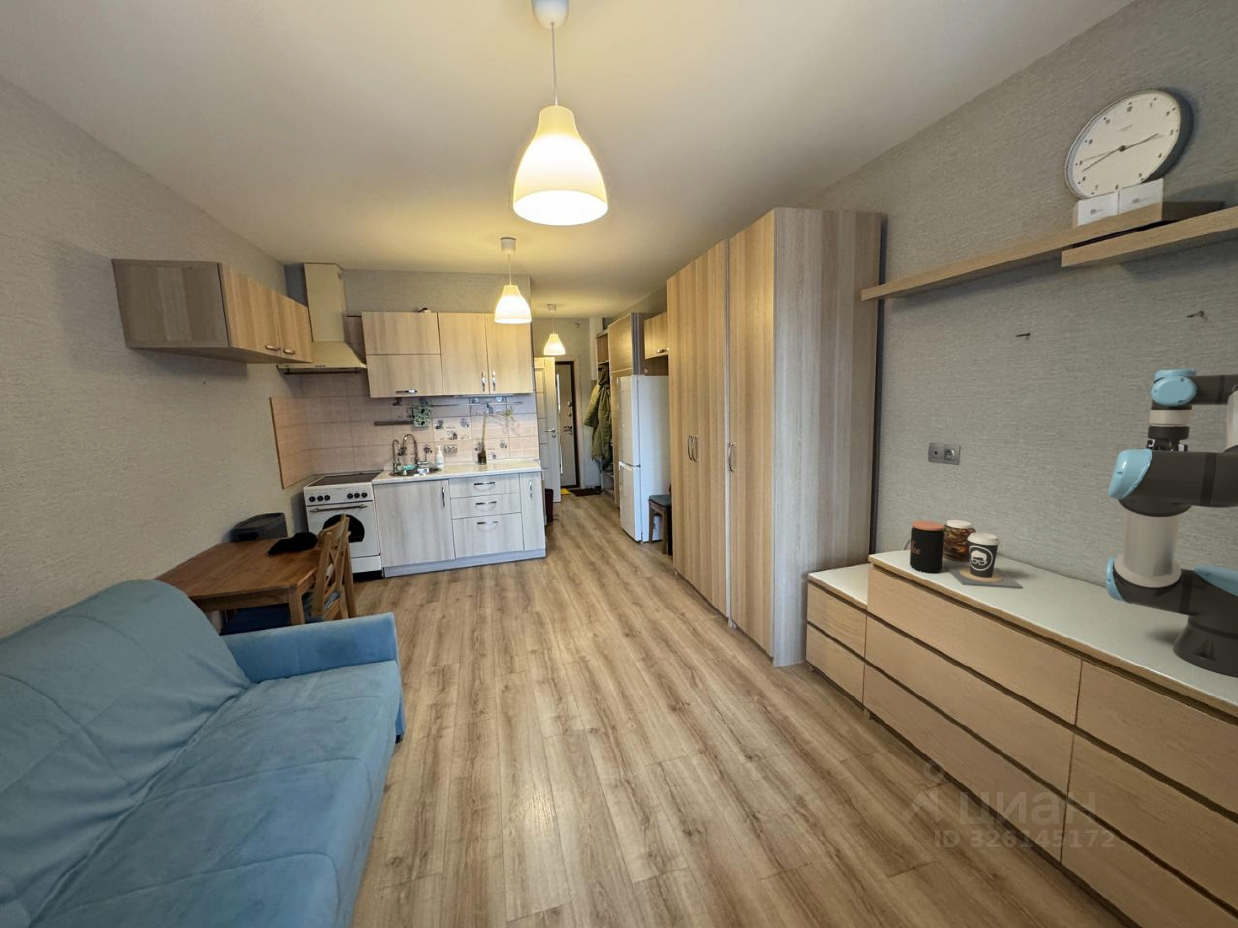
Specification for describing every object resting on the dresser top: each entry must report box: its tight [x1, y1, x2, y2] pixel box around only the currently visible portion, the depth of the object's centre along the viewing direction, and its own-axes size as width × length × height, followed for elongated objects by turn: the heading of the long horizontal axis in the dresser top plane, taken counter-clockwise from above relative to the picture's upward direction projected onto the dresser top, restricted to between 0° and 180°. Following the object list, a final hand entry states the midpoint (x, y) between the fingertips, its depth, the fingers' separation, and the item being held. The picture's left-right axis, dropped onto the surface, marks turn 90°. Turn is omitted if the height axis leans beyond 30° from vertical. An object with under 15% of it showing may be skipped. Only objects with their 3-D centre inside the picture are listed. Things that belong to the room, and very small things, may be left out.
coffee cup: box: [967, 532, 1001, 578], centre depth 173 cm, size 10×10×15 cm
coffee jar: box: [909, 520, 945, 574], centre depth 183 cm, size 11×11×18 cm
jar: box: [943, 519, 977, 563], centre depth 194 cm, size 12×12×15 cm
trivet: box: [943, 564, 1024, 590], centre depth 174 cm, size 18×18×1 cm
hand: (1159, 499), depth 134 cm, fingers open, 13 cm apart
